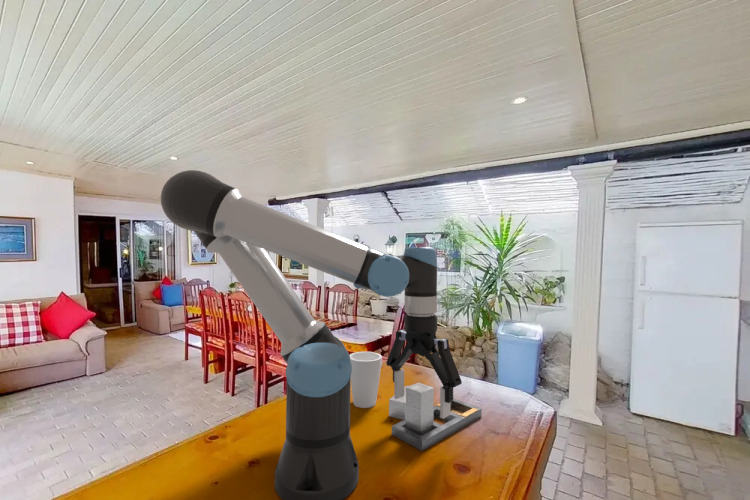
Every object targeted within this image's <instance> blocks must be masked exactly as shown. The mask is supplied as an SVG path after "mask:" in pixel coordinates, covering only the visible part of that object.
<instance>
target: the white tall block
mask: <svg viewBox="0 0 750 500" xmlns="http://www.w3.org/2000/svg"><path fill="white" fill-rule="evenodd" d="M407 386H408V387H406V429H408V430H410V431H412V432H414V433H416V434H418V435H420V436H423V435H425V434H427V433H428V432H430V431H432V430H433V421H434V418H433V415H434V406H435V405H434V403H435V402H434V400H435V399H434V398H435V396H434V395H435V391H434V390H435V388H434V387H432V386H429V385H427V384H424V383H421V382H416V383H414V384H411V385H407Z"/></svg>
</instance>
